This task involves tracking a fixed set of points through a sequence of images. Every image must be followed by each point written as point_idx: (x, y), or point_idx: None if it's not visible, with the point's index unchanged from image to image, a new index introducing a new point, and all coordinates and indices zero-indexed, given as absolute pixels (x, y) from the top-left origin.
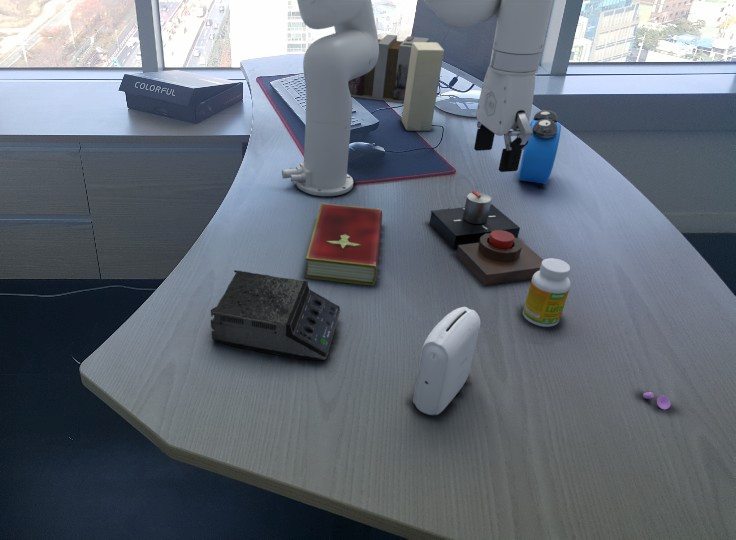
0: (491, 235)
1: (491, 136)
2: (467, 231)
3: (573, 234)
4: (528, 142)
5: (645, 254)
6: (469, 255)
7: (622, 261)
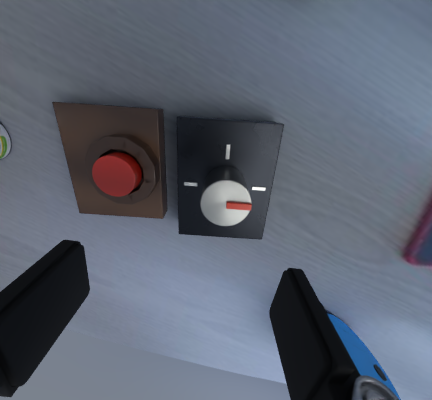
0: (115, 157)
1: (286, 363)
2: (186, 147)
3: (184, 288)
4: None
5: (130, 318)
6: (118, 109)
7: (119, 294)
